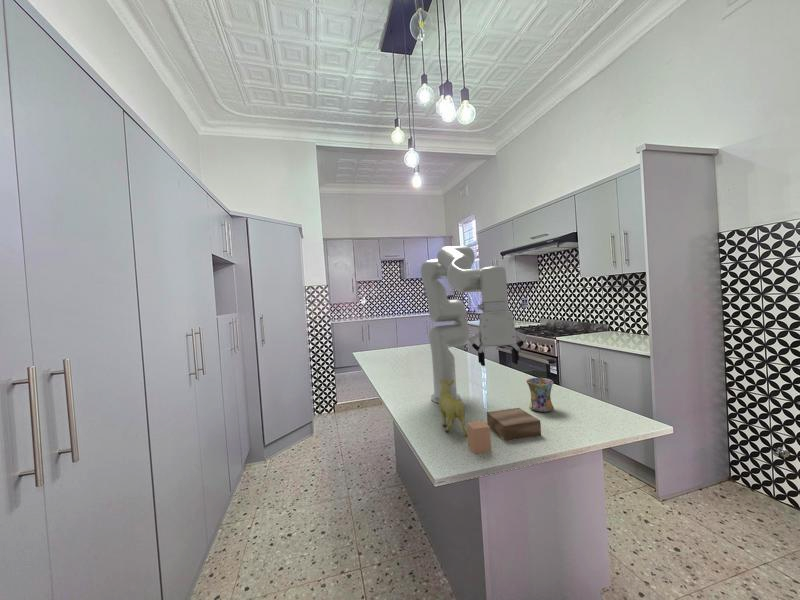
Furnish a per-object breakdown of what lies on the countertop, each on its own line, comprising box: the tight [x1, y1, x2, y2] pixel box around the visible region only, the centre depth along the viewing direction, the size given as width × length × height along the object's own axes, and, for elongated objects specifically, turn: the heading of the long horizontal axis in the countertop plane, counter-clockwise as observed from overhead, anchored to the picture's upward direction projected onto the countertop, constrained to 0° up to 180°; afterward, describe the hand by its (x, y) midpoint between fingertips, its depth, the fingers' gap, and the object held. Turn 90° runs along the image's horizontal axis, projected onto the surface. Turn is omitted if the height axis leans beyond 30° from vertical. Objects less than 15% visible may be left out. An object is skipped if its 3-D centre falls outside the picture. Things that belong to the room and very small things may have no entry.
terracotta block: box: [466, 419, 492, 454], centre depth 95 cm, size 5×5×7 cm
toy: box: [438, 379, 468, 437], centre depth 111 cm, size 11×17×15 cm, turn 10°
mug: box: [526, 377, 554, 413], centre depth 123 cm, size 12×9×11 cm
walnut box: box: [486, 407, 542, 442], centre depth 105 cm, size 12×12×5 cm
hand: (498, 364), depth 98 cm, fingers open, 9 cm apart
